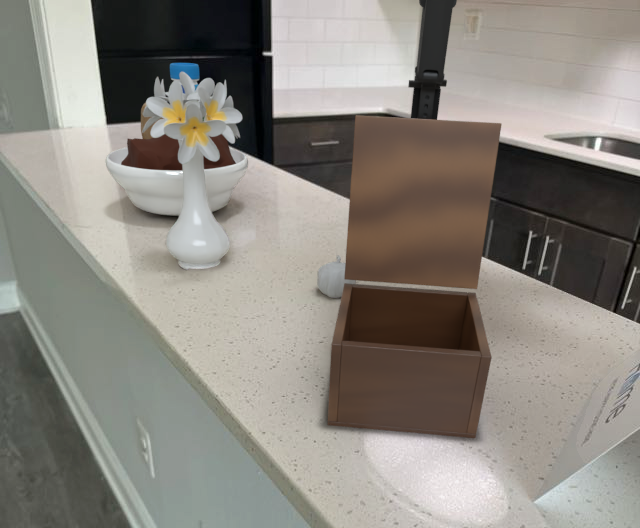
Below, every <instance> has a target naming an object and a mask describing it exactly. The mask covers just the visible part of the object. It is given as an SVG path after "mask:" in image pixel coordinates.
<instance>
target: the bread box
mask: <svg viewBox="0 0 640 528" xmlns="http://www.w3.org/2000/svg"><path fill="white" fill-rule="evenodd" d="M330 345H331V347H330V365H329V387H328V407H327V423H326V425H327V426H333V427H344V428H354V429H355V428H356V429H366V430H376V431H377V430H378V431H389V432H399V433H400V432H401V433H410V434H411V433H412V434H423V435H433V436H434V435H435V436H445V437H455V438H456V437H457V438H467V439H476V437H477V433H478V428H479V422H480V417H481V413H482V408H483V403H484V397H485V392H486V387H487V382H488V377H489V372H490V367H491V362H492V354H491V353H492V352H491V348H490V345H489V341H488V337H487V333H486V329H485V325H484V320H483V316H482V313H481V309H480V304H479V300H478V296H477V293H476V292H469V291H468V292H467V291H457V290H456V291H455V290H446V289H445V290H443V289H431V288H429V289H428V288H417V287H416V288H414V287H402V286H389V285H386V286H385V285H375V284H362V283H361V284H360V283H356V284H347V283H345V284H344V287H343V292H342V297H340V302H339V307H338V312H337V316H336V321H335V326H334V331H333V334H332V340H331V344H330Z"/></svg>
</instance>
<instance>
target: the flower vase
mask: <svg viewBox="0 0 640 528" xmlns="http://www.w3.org/2000/svg"><path fill="white" fill-rule="evenodd" d="M179 77H180V81H181V83H182V86H183V88H184V90H185V94H184V93H183V91H182V86H181V84H180V82H179V81H174V80H172V81H171V83H170V86H169V89H168V91H165V84H164V78H162V79H161V81H160V79H159V76H156V78H155V80H154V81H155V82H154V86H153V94H154V95H153V96H149V97H148V98H147V99H146V101H145V103H146V105H147V106H146V107H145V109H144V112H143V116H144V117H152V118H150V119H149V120H148V121H147V122H146V124H145V126H144V128H143V130H142V133H143V132H144V131H145V130H147V129H148V128H149V127H150V126H151V125H152V124H153V123H155V122H156V121H157V120H158V121H157V122H156V123H155V124H154V125H153V127H152V129H151V132H150V134H151V136H152V137H153V138H157V137H160V136H162V135H164V134H166V135H167V136H169V137H171V138H173V139H178V143H179V147H180V148H179V151H178V160H179V162H180V163H181V164H182V170H183V204H182V209H181V212H180V215H179V216H178V218H177V219H176V221H175V222H174V223H173V224H172V225H171V227H170V229H169V230H168V232H167V234H166V237H165V245H166V250H167V252H169V254H170V255H171V256H172V257H173V258H175V259H176V260H177V263H178V266H179V267H180V268H181V269H184V270H186V271H188V270H189V269H192V270H193V269H194V270H201V269H202V270H205V269H210V268H214V267H216V266H219V265H220V264H221V259H222V258H223V257H225V255H227V253H228V251H229V250H230V246H231V238H230V235H229V234H228V232H227V230H226V229H225V227H224V226H223V225H222V224H221V223H220V222H219V221H218V220H217V219H216V218H215V216H214V214H213V212H211V209H210V207H209V204H208V199H207V193H206V184H205V174H204V156H205V157H206V158H207V159H209V160H211V161H218V160H219V158H220V154H219V151H218V149H217V147H216V145H215V144H214V142H213V141H212V140H211V139H210V137H209V136H211V137H215V136H218V135H220V134H222V135H223V136H224V137H225V138H226V139H227V141H228V143H230V144H232V145H233V144H235V142H236V139H237V140H238V138H239V139H241V135H240V131H239V128H238V126H237V124H239V123H241V122H242V121H243V114H242V113H241V112H240V111H239V110H238V109H236V108H235V107H234V100H233V97H232V96H231V95H228V88H227V80H226V79H224V83H222V82H217V83H216V85H215V81H214V80H213V78H211V77H206V78H204V79H202V80H201V81H200V82H199V83H198V87H197V89H196V90H195V85H194V83H193V81H192V79H191V78H190V77H189V76H188V75H187V74H186V73H185V72H180V74H179ZM227 95H228V97H227ZM161 117H162V118H163V119H160V118H161ZM159 119H160V120H159Z"/></svg>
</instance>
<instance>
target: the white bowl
mask: <svg viewBox="0 0 640 528" xmlns="http://www.w3.org/2000/svg"><path fill="white" fill-rule="evenodd" d="M209 137H210V139H211V140H212V141H213V142H214V144H215V145H216V147H217V149H218V151H219V154H220V158H219V160H218V161H211V160H209V159H207V158H206V157H205V156H204V174H205V184H206V193H207V199H208V204H209V207H210V209H211V212H212V213H213V212H216V211H219V210H221V209H223V208H224V207H225V206H227V205H228V204H229V203H230V200H231V198H232V196H233V193H234V190H235V188H236V187H237V186H238V185H239V184H240V182H241V181H242V179H243V178H244V177H245V175H246V173H247V170H248V167H249V160H248V157H247V156H246V154H245V153H243V152H242V151H240V150H237V149H235V148H231V147H230V145H229V141H228V140H227V139H226V138H225V137H224V136H223V135H222V134H220V135H218V136H215V137H211V136H209ZM179 148H180V147H179V143H178V139H173V138H171V137H169V136H167V135H166V134H164V135H162V136H160V137H157V138H151V139H143V138H136V137H135V138H127V139H126V147H121V148H118V149H115V150H113V151H110V152H109V153H108V154H107V155H106V157H105V159H104V160H105V161H104V162H105V167H106V169H107V171H108V173H109V174H110V176H111V177H112V178H113V180H114V182H116V183H117V184H118V185H119V186H120V187H121V188H122V189H123V190H124V191H125V193H126V195H127V197H128V199H129V200H130V202H131V203H132V204H133V206H135V207H136V208H138V209H139V210H141V211H143V212H147V213H150V214H154V215H162V216H173V217H179V215H180V212H181V209H182V204H183V170H182V164H181V163H180V162H179V160H178V151H179Z"/></svg>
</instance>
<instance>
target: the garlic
mask: <svg viewBox="0 0 640 528" xmlns="http://www.w3.org/2000/svg"><path fill="white" fill-rule="evenodd" d="M341 259H342V258H341V256H340V255H338V254H337V255H336V261H331V262H327V263H325V264H323V265H321V266H320V267H319V268H318V270H317V282H316V283H317V288H318V290H319V291H320V292H321V293H322V294H323V295H324V296H327V297H328V298H331V299H338V298H341V297H342V292H343V287H344V284H345V283H347V284H357V280H345V279H344V277H345V262H342V261H341Z"/></svg>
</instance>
